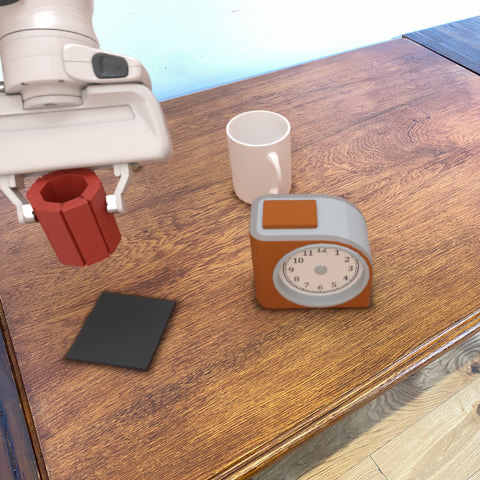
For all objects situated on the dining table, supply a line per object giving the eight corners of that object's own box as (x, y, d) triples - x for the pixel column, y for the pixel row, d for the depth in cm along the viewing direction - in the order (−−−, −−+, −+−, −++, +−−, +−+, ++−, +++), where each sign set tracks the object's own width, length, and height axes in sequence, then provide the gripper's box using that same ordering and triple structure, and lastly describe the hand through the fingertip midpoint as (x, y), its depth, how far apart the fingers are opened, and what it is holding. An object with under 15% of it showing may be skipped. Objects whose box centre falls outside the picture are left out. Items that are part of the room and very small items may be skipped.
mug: (267, 163, 88) (263, 103, 80) (314, 197, 82) (315, 136, 74) (222, 187, 84) (213, 125, 75) (268, 225, 78) (264, 163, 69)
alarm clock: (255, 311, 66) (247, 238, 57) (258, 262, 72) (251, 189, 63) (368, 309, 67) (379, 236, 57) (362, 260, 73) (371, 187, 63)
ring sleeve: (43, 262, 52) (13, 207, 46) (74, 219, 56) (49, 164, 51) (104, 269, 51) (80, 214, 46) (129, 225, 56) (110, 171, 50)
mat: (66, 359, 61) (65, 357, 61) (103, 294, 68) (102, 291, 68) (147, 371, 60) (146, 368, 60) (176, 304, 67) (175, 301, 67)
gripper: (-82, 76, 45) (-60, 231, 46) (156, 58, 48) (175, 203, 49) (-43, 95, 52) (-24, 232, 52) (165, 79, 55) (183, 207, 55)
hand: (75, 218), depth 50 cm, fingers closed on ring sleeve, 7 cm apart
